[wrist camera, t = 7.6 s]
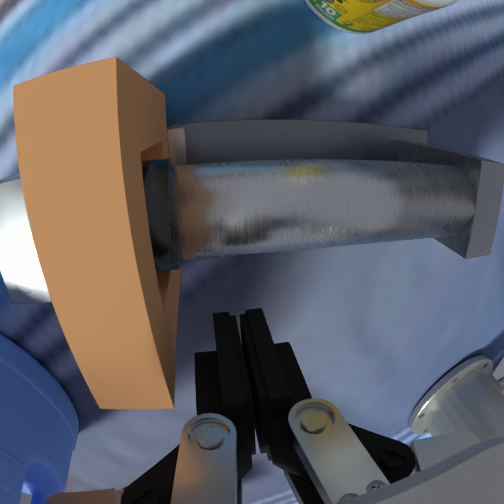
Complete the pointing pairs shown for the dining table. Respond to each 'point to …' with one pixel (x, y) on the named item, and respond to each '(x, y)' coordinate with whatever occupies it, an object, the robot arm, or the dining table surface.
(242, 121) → the pipe rig
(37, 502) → the water jug
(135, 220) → the collar
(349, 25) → the supplement bottle
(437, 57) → the dining table surface
